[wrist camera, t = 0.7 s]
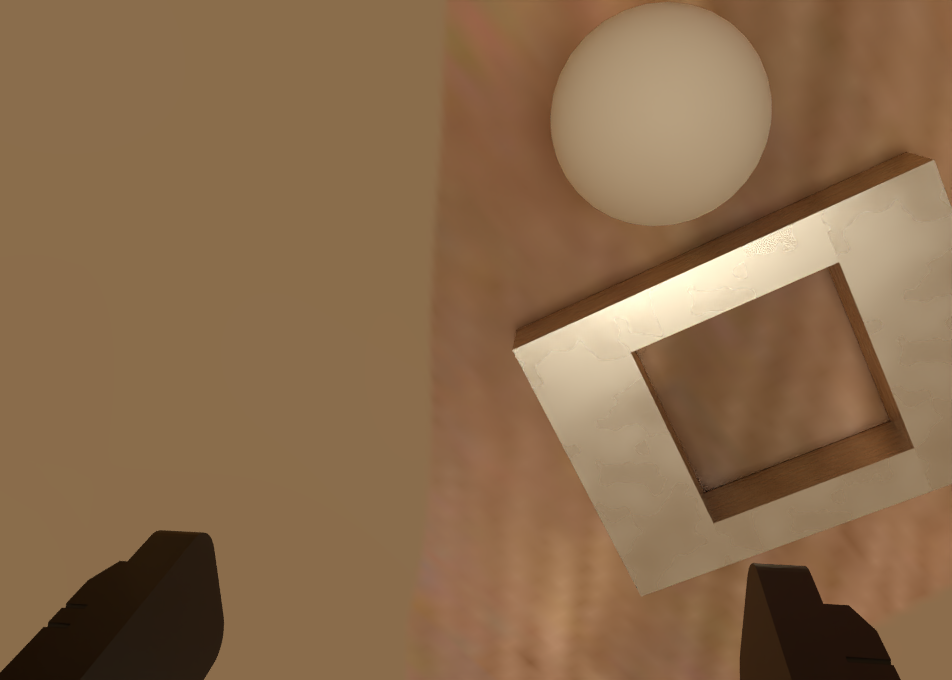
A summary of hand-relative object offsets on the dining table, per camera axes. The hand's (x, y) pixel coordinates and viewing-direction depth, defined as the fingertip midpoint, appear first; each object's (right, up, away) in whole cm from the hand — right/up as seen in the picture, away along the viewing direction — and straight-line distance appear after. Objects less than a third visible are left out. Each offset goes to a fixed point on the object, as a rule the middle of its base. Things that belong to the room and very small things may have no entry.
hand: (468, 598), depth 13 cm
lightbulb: (+6, +13, +19) cm, 24 cm away
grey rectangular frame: (+12, +2, +22) cm, 25 cm away
